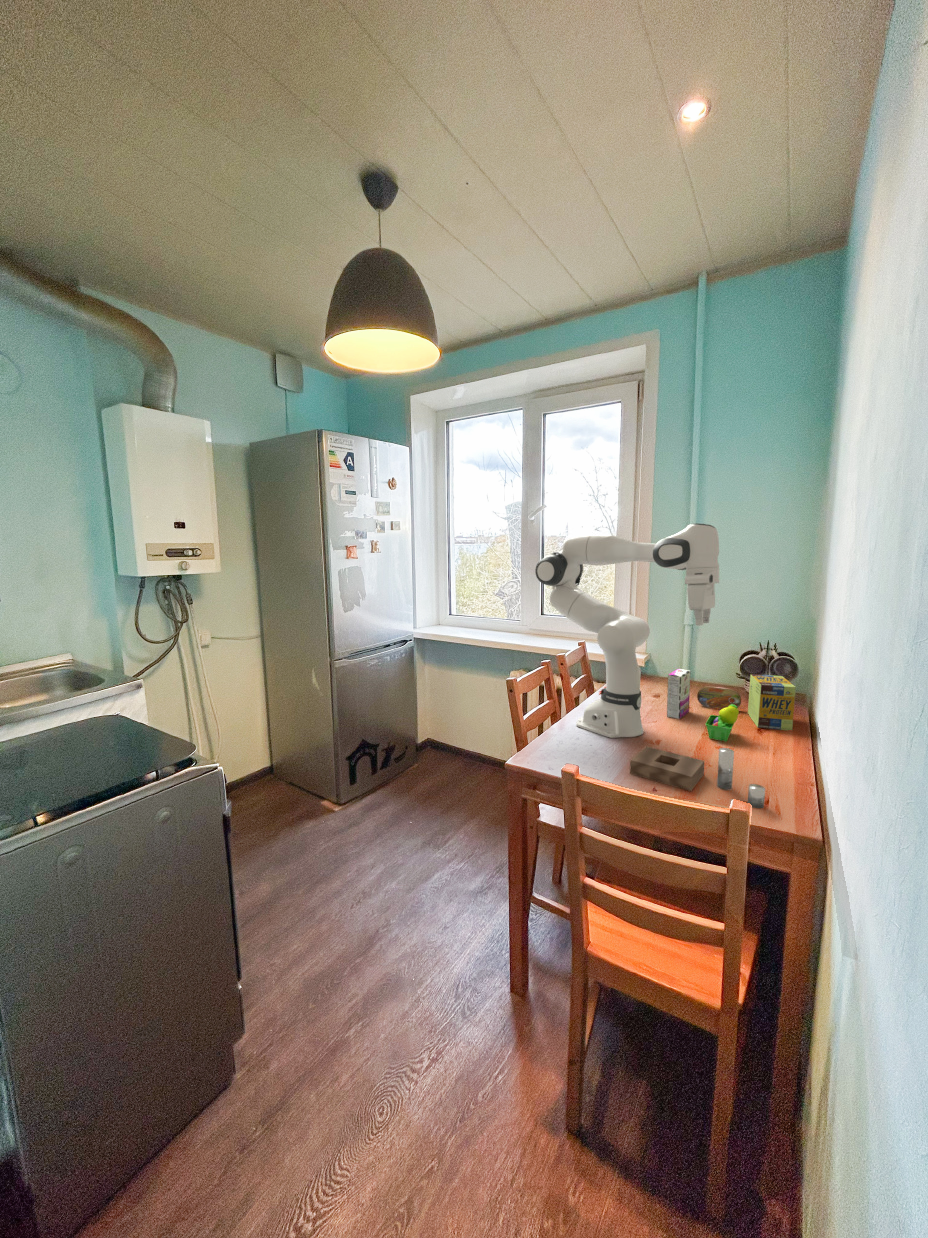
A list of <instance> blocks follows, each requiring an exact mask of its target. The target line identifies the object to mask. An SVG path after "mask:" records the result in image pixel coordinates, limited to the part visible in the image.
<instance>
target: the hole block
mask: <svg viewBox="0 0 928 1238" xmlns="http://www.w3.org/2000/svg"><path fill="white" fill-rule="evenodd" d="M629 774H630V775H634V776H638V777H641V778H645V779H648V780H651V781H654V782H658V783H662V784H664V785H668V786H671V787H675V788H678V789H681V790H685V791H689V792H692V790H693V789H694V788H695V786H696V785H697V784H698V783H699V781H701V779H702V777H704V774H705V760H702V759H699V758H695V757H691V756H687V755H683V754H679V753H675V752H670V751H668V750H667V751H666V750H663V749H659V748H655V747H651V746H647V745H646V746H644V747H643V748H642V749H641V750H640V751H639V752H637V754H635V755H634V756H633V757H631V758H630V759H629Z"/></svg>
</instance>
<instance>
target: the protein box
mask: <svg viewBox="0 0 928 1238" xmlns="http://www.w3.org/2000/svg"><path fill="white" fill-rule="evenodd" d="M796 688H797V687H796V686H795V685H794V684H792V683H791V682H790V681H789V680H788V679H786V678H785V677H784V676H783V675H782V676H781V675H770V674H755V673H750V678H749V691H748V692H749V693H748V704H747V705H748V706H747V715H748V714H749V715H748V717H750V719H751V720H752V721H753V723H754V725H755V726H756V727H757V728H759V729H768V730H778V731H788V730H792V731H793V727H794V726H793V724H794V713H795V712H794V711H795V701H796V692H797V691H796Z"/></svg>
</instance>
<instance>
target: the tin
mask: <svg viewBox="0 0 928 1238" xmlns="http://www.w3.org/2000/svg"><path fill="white" fill-rule="evenodd" d="M696 698H697V701H698V703H699V704H700V705H701V706H703V707H704V708H707V709H713V708H718V709H717V710H720V709H723V708H727V707H728V706H729V705H731V704H733V705H736V706H737V707H738V708H739V707H741V704H742V697H741V695H740V693H739V692H738V691H737V690H735V689H733V688H727V687H718V686H712V685H711V686H709V685H708V686H703V687H702V688H700V689H699V690H698V692H697V694H696Z"/></svg>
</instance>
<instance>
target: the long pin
mask: <svg viewBox="0 0 928 1238" xmlns="http://www.w3.org/2000/svg"><path fill="white" fill-rule="evenodd" d="M734 757H735V751H734V750H733V749H731V748H727V747H720V748H719V749H718V762H717V763H718V764H717V766H718V767H717V779H716V781H717V782H716V786H717V787H718V788H719V789H720V790H724V791H730V790H732V789H733V788H732V787H733V775H734V761H735V760H734Z"/></svg>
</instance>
